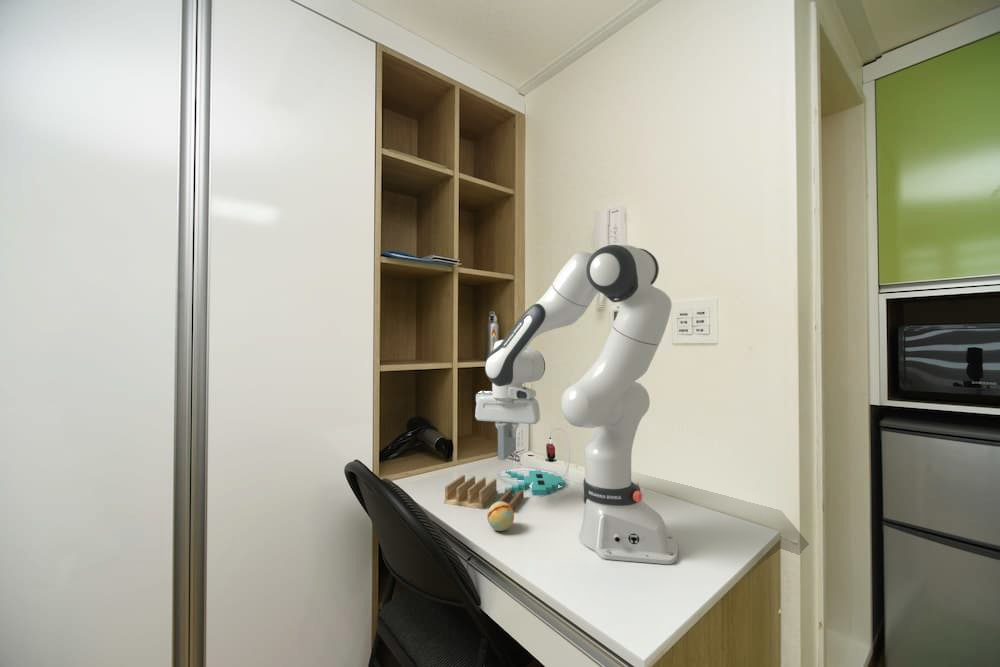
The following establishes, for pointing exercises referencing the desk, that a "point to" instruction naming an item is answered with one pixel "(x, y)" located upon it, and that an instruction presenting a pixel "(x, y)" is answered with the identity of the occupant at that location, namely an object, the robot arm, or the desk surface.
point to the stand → (515, 500)
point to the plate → (505, 441)
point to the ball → (500, 516)
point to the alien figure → (536, 482)
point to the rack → (470, 492)
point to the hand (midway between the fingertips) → (507, 436)
